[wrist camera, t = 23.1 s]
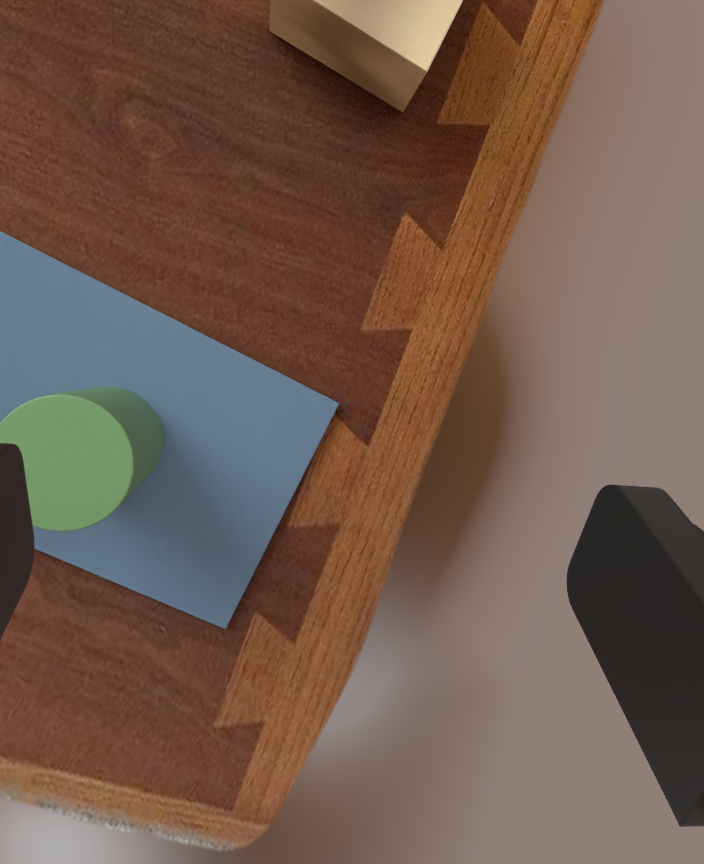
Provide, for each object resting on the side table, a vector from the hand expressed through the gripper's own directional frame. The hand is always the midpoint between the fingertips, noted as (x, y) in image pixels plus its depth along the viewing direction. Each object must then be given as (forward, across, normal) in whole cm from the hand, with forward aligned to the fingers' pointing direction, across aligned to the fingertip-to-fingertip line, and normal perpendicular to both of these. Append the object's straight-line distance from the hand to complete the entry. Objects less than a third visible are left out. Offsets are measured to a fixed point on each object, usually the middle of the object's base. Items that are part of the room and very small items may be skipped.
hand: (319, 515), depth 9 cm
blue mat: (+23, +9, +14) cm, 28 cm away
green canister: (+23, +9, +14) cm, 28 cm away
